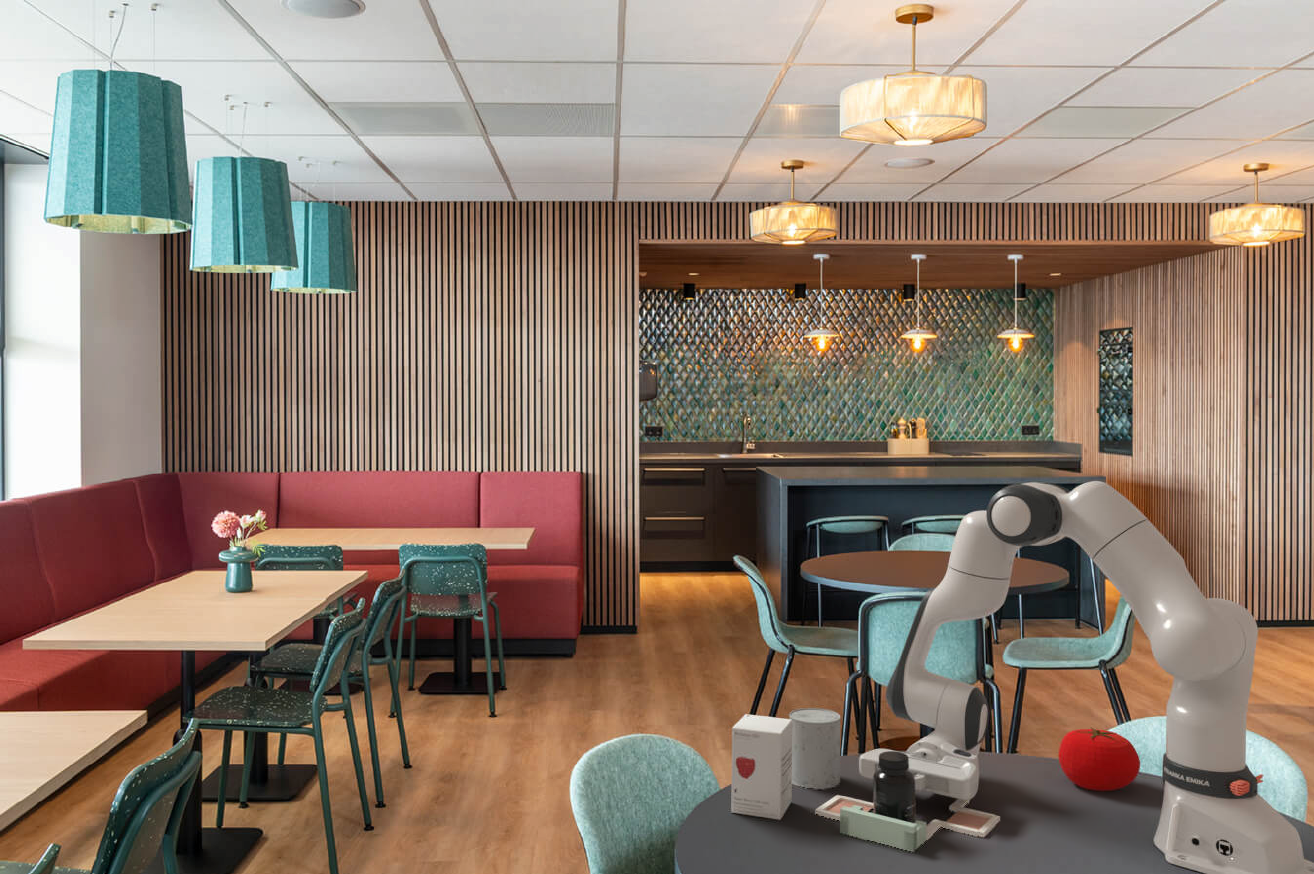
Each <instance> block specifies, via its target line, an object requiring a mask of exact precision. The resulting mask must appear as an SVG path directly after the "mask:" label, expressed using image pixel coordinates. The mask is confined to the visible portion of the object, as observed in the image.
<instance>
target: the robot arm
mask: <svg viewBox="0 0 1314 874" xmlns="http://www.w3.org/2000/svg"><path fill="white" fill-rule="evenodd" d="M1068 538H1069V539H1071V540H1073V541H1074V542H1075V543H1077V545H1079V546H1080V548H1081V549H1082V550H1084V552H1085V553H1086V555H1087V556H1088V557H1089V558H1090V559H1091V560H1092V561H1093V563H1094V565H1096V566H1097V568H1099V570H1100V572H1102V573H1103V575H1104V576H1105V577H1106V578H1107V579H1108V581H1109V582H1110V583H1111V584H1112V585H1113V586H1114V587H1115V589H1116V591H1118V593H1119V594H1120V595H1121V596H1122V598H1123V599H1124V600H1125V601H1126V603H1127V605H1128V607H1129V608H1130V610H1131V611H1132V613H1133V615H1134V616H1135V618H1136V619H1137V622H1138V623H1139V625H1140V627H1141V629H1142V631H1143V633H1144V634H1145V635H1146V638H1147V639H1148V640H1149V642H1150V648H1151V652H1152V655H1153V659H1154V660H1155V662H1156V663H1157V665H1159V667H1160V668H1161V669H1162V670H1163V671H1165V673H1167V674H1169V675H1170V676H1172V677H1173V681H1172V686H1171V691H1170V694H1169V698H1168V699H1167V704H1166V719H1165V720H1166V721H1165V722H1166V723H1165V725H1166V726H1165V753H1163V757H1162V784H1163V788H1164V790H1163V797H1162V806H1161V811H1160V817H1159V821H1158V825H1157V828H1156V831H1155V834H1154V836H1153V843H1154V845H1155V846H1156V847H1157V848H1158V849H1159V850H1160V851H1161V852H1162V853H1163V854H1164V858H1165V861H1166V862H1168V863H1169V864H1172V865H1175V866H1177V867H1178V866H1179V867H1182V868H1186V869H1188V870H1193V871H1197V872H1199V873H1201V874H1202V873H1203V874H1314V862H1312V861H1310V860H1308V859H1306V858H1305V857H1304V851H1303V844H1302V840H1301V838H1300V834H1299V831H1298V830H1297V828H1296V827H1295V826H1294V825H1293V824H1291V823H1290V822H1289V821H1288V820H1287V819H1286V818H1285V817H1284V816H1283V815H1281V813H1279V811H1277V810H1276V809H1275V808H1274V807H1273V806H1272V805H1271V804H1270V803H1269V802H1267V800H1266V799H1264V798H1263V797H1262V795H1260V793H1258V791H1259V790H1258V789H1259V787H1258V784H1261V783H1263V782H1264V780H1263V777H1264V775H1263V774H1261V773H1260V774H1258V775H1256V776H1255V774H1254V773H1252V771H1251V770H1250V767H1249V766H1248V764H1246V761H1247V760H1246V756H1247V753H1246V752H1247V748H1246V747H1247V718H1248V717H1247V713H1248V706H1249V700H1250V695H1251V688H1252V680H1253V674H1254V666H1255V656H1256V647H1257V641H1258V635H1259V629H1258V628H1259V627H1258V625H1257V621H1256V619H1255V618H1254V616H1253V615H1252V613H1251V612H1250V610H1248V609H1247V608H1245V607H1244V606H1243V605H1241V604H1239V603H1237V602H1234V601H1232V600H1229V599H1224V598H1218V597H1208V598H1206V596H1205V595H1204V594H1203V592H1202V591H1201V590H1200V588H1199V586H1198V584H1196V582H1195V580H1194V579H1193V577H1192V575H1191V574H1190V572H1189V570H1188V568H1187V566H1186V562H1185V560H1184V558H1183V556H1182V555H1181V554H1180V553H1179V552H1178V551H1177V550H1176V548H1175V547H1174V546H1173V545H1172V544H1171V543H1170V542H1169V541H1168V540H1167V539H1166V538H1165V536H1164V535H1163V534H1162V533H1161V532H1160V531H1159V530H1158V529H1157V527H1156V526H1155V525H1154V524H1153V523H1152V522H1151V521H1150V520H1149V518H1148V517H1146V515H1144V514H1143V512H1142V511H1140V509H1138V507H1136V505H1135V504H1133V502H1132V501H1130V500H1129V499H1127V497H1126V496H1124V495H1123V494H1122V493H1120V492H1119V491H1117V490H1116V489H1115V488H1114V487H1112V485H1110V484H1108V483H1107V482H1103V481H1101V480H1100V481H1099V480H1093V481H1088V482H1085V483H1082V484H1080V485H1078V486H1076V487H1074V488H1073V489H1072V490H1071V491H1070V490H1069V489H1067V488H1065V487H1064V486H1061V485H1058V484H1057V483H1056V484H1055V483H1042V482H1035V481H1033V482H1023V483H1015V484H1009V485H1007V486H1004V487H1003V488H1001V489H1000V490H998V491H997V492H996V493H995V494H994V495H992V497H991V499H990V501H989V502H988V505H987V507H986V510H984V509H983V510H975V511H972V512H969V513H968V514H966V515H965V516H964V517H963V518H962V519H961V521H960V524H959V526H958V527H957V531H956V533H955V536H954V540H953V543H952V547H951V550H950V554H949V560H948V565H947V569H946V573H945V575H944V577H943V579H942V580H941V581H940V583H939V584H938V585H937V586H934V587H930V588H929V589H927V591H926V593H925V594H924V596H923V598H922V600H921V601H920V603H919V605H918V608H917V611H916V613H915V616H914V618H913V621H912V624H911V626H910V629H909V631H908V635H907V637H906V640H905V643H904V645H903V648H902V650H901V654H900V656H899V659H898V662H897V664H896V665H895V669H894V671H893V672H892V674H891V677H890V679H889V681H888V684H887V687H886V691H885V700H886V703H887V705H888V707H889V708H890V710H891V712H892V713H893V714H894V716H895V717H896V718H899V719H903V720H907V721H911V722H914V723H917V724H918V723H919V724H922V725H925V726H927V727H930V728H932V729H934V730H933V731H931V732H930V733H929V734H928V735H926V736H923V738H920V739H919V740H917V741H916V742H915V743H913V744H912V745H910V746H909V747H908V749H907V750H906V752H902V751H900V752H901V753H904V754H906V755H907V756H908V758H909V769H908V770H909V771H910V772H911V773H912V774H913V775H914V777H915V791H923V792H928V793H933V794H937V795H940V796H945V797H948V798H953V799H956V800H957V799H961V800H971V799H973V798H974V797H975V796H976V794H977V793H978V790H979V781H980V767H979V766H980V765H979V757H978V755H979V753H980V750H981V743H982V742H983V740H984V739H985V737H986V733H987V731H988V728H989V722H990V707H989V703H988V702H987V698H986V697H985V694H984V693H983V691H982V690H981V688H979V687H977V686H975V685H971V684H968V683H965V682H963V681H960V680H957V679H952V678H950V677H946V676H944V675H941V674H937V673H934V672H932V671H928V669H927V668H926V667H925V663H926V662H927V658H928V655H929V653H930V650H931V647H932V645H933V642H934V639H935V636H936V634H937V631H938V630H939V628H940V627H941V626H942V625H944V624H946V623H952V622H961V621H972V620H978V619H979V620H980V619H982V618H985V617H988V616H992V614H995V613H996V612H997V611H998V610H1000V609H1001V607H1002V606H1003V605H1004V604H1005V601H1006V599H1007V596H1008V593H1009V589H1010V588H1009V587H1010V585H1011V584H1010V583H1011V577H1012V571H1013V566H1014V562H1015V561H1014V560H1015V557H1016V554H1017V552H1018V551H1019V550H1020V549H1021V548H1022V547H1027V546H1033V547H1035V546H1036V547H1037V546H1038V547H1041V546H1042V547H1043V546H1047V545H1050V544H1053V543H1059V542H1062V541H1064V540H1066V539H1068ZM887 751H896V752H899V751H897V750H893V749H888V748H875V749H873V750H872V749H871V750H869V751H867V752H864V753H863V754H861V755H860V756H859V758H858V770H859V771H858V772H859V774H860V775H861V777H863V778H867V779H872V780H873V775H874V773H875V772H876V771H877V770H878V769H879V766H878V763H879V755H880V754H881V753H883V752H887Z"/></svg>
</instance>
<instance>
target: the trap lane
mask: <svg viewBox="0 0 1314 874" xmlns="http://www.w3.org/2000/svg"><path fill="white" fill-rule="evenodd" d="M970 800H971V799H970ZM970 800H961V799H957V798H956V800H954V802H952V803H951V804H950V805H949V806H948V807H949V808H948V809H949V810H953V811H957V812H954V814H953V815H952V816H951V817H950V818H948V819H947V820H946V821H944V820H940V819H936V818H935V819H933V820H931V821H930V822H929V823H928V824H927V821H922V820H916V822H915V823H910V822H906V821H902V820H898V819H894V818H890V817H886V816H882V815H878V814H874V812H871V811H870V812H868V811H869V810H870V809H872V808H873V809H874V803H873V802H869V801H866V800H863V799H858V798H857V799H856V798H854V797H849V796H845V795H839V794H837V795H835V796H833V797H832V798H831V799H829V800H827V801H826V802H824V803H823V804H822V805H820V806H818V807H817V808H815V810H814V814H815V815H816V814H818V815H817V816H819V817H821V816H824V817H823V818H825V817H826V819H829V818H831V819H830V820H833V819H835V820H834V821H837V820H839V821H838V822H840V823H839V833H840V834H841V833H842V835H845V834H846V835H845V836H848V835H849V837H852V836H853V838H856V837H857V838H856V839H861V840H864V841H867V840H870V841H869V842H871V841H875V842H877V843H876V844H879V843H881V844H880V845H882V844H885V845H884V846H886V845H889V846H888V847H890V846H892V847H891V848H894V847H896V848H895V849H897V848H899V849H898V850H901V849H903V850H902V851H905V850H907V851H906V852H909V851H911V852H910V853H912V852H913V853H915V850H916V849H917V848H918V847H919V846H920V845H921V844H922V845H924V844H925V843H926V842H927V841H928V840H929V839H930V838H932V836H934V835H935V834H936V833H937V832H938V831H939V830H940V829H941V828H940V827H943V828H946V829H945V830H947V829H950V830H949V831H951V830H953V831H952V832H955V833H960V834H964V833H965V834H964V835H968V834H969V835H968V836H972V835H973V836H972V837H978V836H979V837H978V838H982V837H983V839H984V838H985V837H986V836H987V835H988V834H989V833H990V832H991V831H992V830H993V829H994V828H995V827H996V826H997V825H998V824H999V823H1000V822H1001V816H1000V815H997V814H994V813H989V812H985V811H980V810H976V809H973V808H967V807H966V806H967V805H968V804H970V803H969V802H970ZM967 803H968V804H967ZM966 804H967V805H966ZM965 805H966V806H965ZM964 806H965V807H964ZM949 810H948V811H949ZM999 821H1000V822H999ZM998 822H999V823H998ZM997 823H998V824H997ZM996 824H997V825H996ZM939 828H940V829H939ZM943 828H942V829H943ZM938 829H939V830H938ZM937 830H938V831H937ZM936 831H937V832H936ZM935 832H936V833H935ZM934 833H935V834H934ZM933 834H934V835H933ZM926 840H927V841H926ZM925 841H926V842H925ZM875 842H874V843H875ZM924 842H925V843H924ZM922 845H921V846H922ZM921 846H920V847H921ZM920 847H919V848H920ZM919 848H918V849H919ZM918 849H917V850H918ZM917 850H916V851H917Z"/></svg>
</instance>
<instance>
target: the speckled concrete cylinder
mask: <svg viewBox="0 0 1314 874" xmlns="http://www.w3.org/2000/svg"><path fill="white" fill-rule="evenodd" d="M788 716H789V719H792V720H793V729H792V785H794V786H796V785H797V786H796V787H798V786H801V787H800V788H802V787H805V788H804V789H807V788H814V789H813V790H818V789H821V790H825V789H824V788H830V787H834V786H836V785H838V784H839V783H841V718H842V717H841V715H840V714H839V712H836V711H833V710H830V709H827V708H826V709H825V708H816V707H814V708H813V707H808V708H798V709H794V710H792V711H791V712H789V715H788ZM839 785H840V784H839ZM839 785H838V786H839ZM836 787H837V786H836ZM834 788H835V787H834ZM830 789H831V788H830Z"/></svg>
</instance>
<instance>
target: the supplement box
mask: <svg viewBox="0 0 1314 874" xmlns="http://www.w3.org/2000/svg"><path fill="white" fill-rule="evenodd" d="M792 729H793V720H792V719H790V718H782V717H781V718H780V717H773V716H766V715H757V714H755V715H754V714H748V713H745V714H744V715H743V716H742V717H741V718H740V719H739V720H738V721H737V722H736V723H735V724H734V725H733V726H732V728H731V787H730V788H731V789H730V791H731V794H730V796H731V799H730V800H731V801H730V804H731V806H730V808H731V810H730V811H731V814H732V813H733V814H741V815H747V816H752V817H758V818H759V817H760V818H766V819H773V820H779V821H780V820H781V819H782V818H783V817H784V815H785V813H786V811H787V810H788V808H789V806H790V804H791V803H792V792H793V790H792V786H793V784H792Z"/></svg>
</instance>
